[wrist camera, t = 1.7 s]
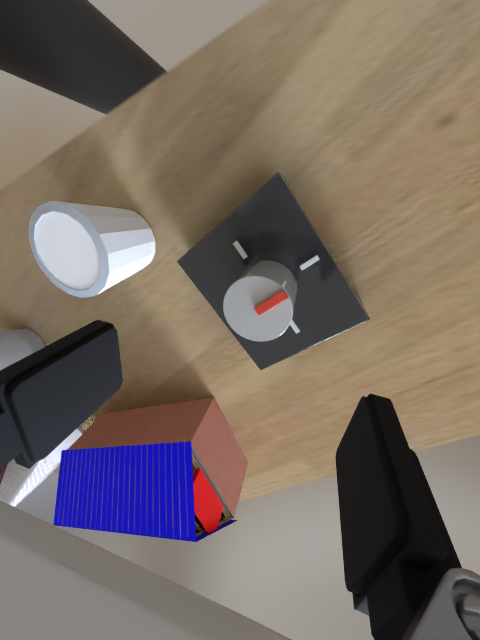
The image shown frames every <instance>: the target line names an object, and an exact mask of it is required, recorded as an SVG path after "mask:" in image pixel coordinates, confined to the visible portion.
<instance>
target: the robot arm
mask: <svg viewBox="0 0 480 640" xmlns="http://www.w3.org/2000/svg"><path fill="white" fill-rule="evenodd" d="M122 382H123V379H122V370H121V361H120V352H119V343H118V334H117V330H116V329H115V327H114V325H113V324H111V323H108V322H105V321H101V320H96V321H94V322H92V323H90V324H88V325H86V326H84V327H82V328H80V329H78V330H76V331H74V332H73V333H71V334H69V335H67V336H65V337H63V338H61V339H59V340H57V341H55V342H53V343H52V344H50V345H48V346H46V347H44V348H42V349H40V350H38V351H36V352H34V353H32V354H31V355H29V356H27V357H25V358H23V359H21V360H19V361H17V362H15V363H13V364H11V365H10V366H8V367H6V368H4V369H2V370H0V485H1V482H2V479H3V476H4V473H5V471H6V468H7V464H8V463H9V462H10V461H12V460H13V459H14V460H15V462H16V464H18V465H21V466H23V467H25V468H28V469H30V468H31V467H32V466H33V465H34V464H35V463H36V462H38V461H39V460H42V459H44V458H45V457H47V456H48V455H49V454H50V453H51V452H52V451H53V450H54V449H55V448H56V447H58V446H59V445H60V444H61V443H62V442H63V441H64V440H65V439H66V438H67V437H68V436H69V435H70V434H71V433H73V432H74V431H75V430H76V429H77V428H78V427H79V426H80V425H81V424H82V423H83V422H84V421H85V420H86V419H88V418H89V417H90V416H91V415H92V414H93V413H94V412H95V411H96V410H97V409H98V408H99V407H100V406H101V405H102V404H104V403H105V402H106V401H107V400H108V399H109V398H110V397H111V396H112V395H113V394H114V393H115V392H116V391H117V390H119V388H120V387H121V385H122ZM336 469H337V482H338V495H339V508H340V521H341V534H342V546H343V560H344V573H345V583H346V588H347V589H348V591H350V592H352V593H353V602H354V609H355V610H358V611H360V612H362V613H364V614H367V615H369V618H370V626H371V633H372V636H373V637H374V640H480V575H478V574H476V573H474V572H473V571H470V570H466V569H463V568H462V567H461V564H460V562H459V559H458V557H457V554H456V552H455V550H454V547H453V544H452V542H451V539H450V537H449V534H448V532H447V530H446V527H445V524H444V522H443V520H442V517H441V514H440V512H439V509H438V508H437V504H436V502H435V500H434V497H433V495H432V492H431V490H430V487H429V485H428V482H427V480H426V477H425V475H424V472H423V470H422V467H421V465H420V462H419V460H418V457H417V456H416V454H415V452H414V451H413V450H412V449H410V448H409V446H408V443H407V441H406V438H405V435H404V433H403V430H402V428H401V425H400V422H399V420H398V417H397V414H396V412H395V409H394V407H393V404H392V402H391V400H390V399H388V398H385V397H381V396H377V395H373V394H369V395H368V397H364V396H363V397H362V398H361V399H360V401H359V403H358V406H357V408H356V410H355V412H354V414H353V416H352V419H351V421H350V423H349V425H348V427H347V429H346V431H345V434H344V436H343V438H342V440H341V442H340V444H339V447H338V449H337V452H336ZM0 640H291V639H289V638H287V637H285V636H283V635H281V634H280V633H277V632H275V631H274V630H271V629H269V628H268V627H266V626H264V625H262V624H260V623H258V622H256V621H254V620H252V619H250V618H247V617H245V616H243V615H241V614H239V613H237V612H235V611H233V610H231V609H229V608H227V607H224V606H222V605H220V604H218V603H216V602H214V601H212V600H210V599H208V598H206V597H204V596H201V595H199V594H197V593H195V592H193V591H191V590H189V589H187V588H185V587H183V586H181V585H178V584H177V583H174V582H172V581H170V580H168V579H166V578H164V577H162V576H160V575H158V574H156V573H153V572H151V571H149V570H147V569H145V568H143V567H141V566H139V565H137V564H135V563H132V562H130V561H128V560H126V559H124V558H122V557H120V556H118V555H116V554H113V553H111V552H109V551H107V550H105V549H103V548H101V547H99V546H97V545H94V544H92V543H90V542H88V541H86V540H84V539H82V538H80V537H77V536H75V535H73V534H71V533H69V532H67V531H65V530H63V529H60V528H58V527H56V526H54V525H52V524H50V523H48V522H46V521H44V520H41V519H39V518H37V517H35V516H33V515H31V514H29V513H26V512H24V511H22V510H20V509H18V508H16V507H14V506H11V505H9V504H7V503H5V502H3V501H1V500H0Z"/></svg>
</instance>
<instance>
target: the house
mask: <svg viewBox="0 0 480 640" xmlns="http://www.w3.org/2000/svg"><path fill="white" fill-rule="evenodd" d="M192 457H193V458H192ZM193 459H194V460H193ZM194 461H195V462H196V463H195V462H194ZM247 464H248V463H247V461H246V459H245V457H244V455H243V453H242V451H241V449H240V447H239V445H238V443H237V441H236V439H235V437H234V435H233V433H232V431H231V429H230V427H229V425H228V423H227V422H226V420H225V418H224V416H223V414H222V412H221V410H220V408H219V406H218V404H217V402H216V400H215V398H214V397H211V398H204V399H197V400H190V401H183V402H176V403H169V404H163V405H156V406H149V407H142V408H135V409H128V410H121V411H114V412H108V413H103V414H102V415H101V416H100V417H99V418H98V419H97V420H96V421H95V422H94V423H93V424H92V425H91V426H90V427H89V428H88V429H87V430H86V431H85V432H84V433H83V434H82V435H81V436H80V437H79V438H78V439H77V440H76V441H75V442H74V443H73V444H72V445H71V446H70V447H69V448H67V449H66V450H62V452H61V461H60V470H59V480H58V489H57V499H56V507H55V516H54V525H57V526H65V527H74V528H83V529H91V530H100V531H108V532H116V533H125V534H133V535H142V536H150V537H159V538H167V539H176V540H185V541H193V542H197V541H199V540H201V539H203V538H204V537H206V536H208V535H210V534H212V533H214V532H216V531H218V530H220V529H222V528H223V527H226V526H228V525H230V524H231V523H233V522H235V521H237V520H231V519H232V518H234V515H235V511H236V508H237V504H238V500H239V496H240V492H241V488H242V484H243V480H244V476H245V472H246V468H247ZM225 518H226V519H225Z"/></svg>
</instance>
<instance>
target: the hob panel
mask: <svg viewBox="0 0 480 640" xmlns="http://www.w3.org/2000/svg"><path fill="white" fill-rule="evenodd" d="M261 261H275V262H278V263H281V264H282V265H284V266H285V267H287V268H288V269H289V270H290V271H291V273H292V274H293V276H294V277H295V280H296V284H297V294H296V300H295V305H294V310H293V316H292V320H291V323H290V325H289V327H288V328H287V330H286V331H285V332H284V333H283V334H281V335H280V336H279V337H277V338H275V339H272V340H269V341H252V340H249V339H246V338H244V337H242V336H240V335H239V334H237V333H236V332H235V331H234V330H233V329H232V328H231V327H230V325H229V324H228V322H227V320H226V318H225V315H224V311H223V301H224V297H225V294H226V292H227V290H228V289H229V287H230V286H231V285H232V284H233V283H234V282H235V281H236V280H237V279H238V278H239V277H240V276H241V275H242V274H243V273H244V272H245V271H246V270H247V269H248V268H249V267H250V266H252V265H253V264H255V263H257V262H261ZM177 262H178V263H179V265H180V266H181V267H182V269H183V270H184V271H185V272H186V274H187V275H188V276H189V278H190V279H191V280H192V281H193V283H194V284H195V285H196V287H197V288H198V289H199V291H200V292H201V293H202V294H203V296H204V297H205V298H206V300H207V301H208V302H209V304H210V305H211V306H212V307H213V309H214V310H215V311H216V313H217V314H218V315H219V317H220V318H221V319H222V320H223V322H224V323H225V324H226V326H227V327H228V328H229V330H230V331H231V332H232V333H233V335H234V336H235V337H236V339H237V340H238V341H239V342H240V344H241V345H242V346H243V348H244V349H245V350H246V352H247V353H248V354H249V355H250V357H251V358H252V359H253V361H254V362H255V363H256V365H257V366H258V367H259V368H260V370H262V369H264V368H266V367H269V366H271V365H273V364H275V363H277V362H279V361H281V360H284V359H286V358H288V357H290V356H292V355H294V354H297V353H299V352H301V351H303V350H305V349H307V348H309V347H312V346H314V345H316V344H318V343H320V342H322V341H324V340H327V339H329V338H331V337H333V336H335V335H337V334H340V333H342V332H344V331H346V330H348V329H350V328H352V327H355V326H357V325H359V324H361V323H363V322H365V321H367V320H369V319H370V318H369V316H368V314H367V312H366V310H365V308H364V306H363V304H362V302H361V301H360V299H359V297H358V296H357V294H356V293H355V291H354V289H353V288H352V286H351V284H350V283H349V281H348V280H347V278H346V276H345V275H344V273H343V272H342V270H341V268H340V267H339V265H338V263H337V262H336V260H335V259H334V257H333V255H332V254H331V252H330V251H329V249H328V247H327V246H326V244H325V242H324V241H323V239H322V238H321V236H320V234H319V233H318V231H317V230H316V228H315V226H314V225H313V223H312V221H311V220H310V218H309V217H308V215H307V213H306V212H305V210H304V209H303V207H302V205H301V204H300V202H299V200H298V199H297V197H296V196H295V194H294V192H293V191H292V189H291V187H290V186H289V184H288V183H287V181H286V179H285V178H284V177H283V176H282V175H281V174H280V173H277V174H276V175H275V176H274V177H273V178H271V179H270V180H269V181H268V182H267V183H266V184H265V185H263V186H262V187H261V188H260V189H259V190H258V191H257V192H255V193H254V194H253V195H252V196H251V197H250V198H249V199H247V200H246V201H245V202H244V203H243V204H242V205H241V206H239V207H238V208H237V209H236V210H235V211H234V212H233V213H231V214H230V215H229V216H228V217H227V218H226V219H225V220H223V221H222V222H221V223H220V224H219V225H218V226H217V227H215V228H214V229H213V230H212V231H211V232H210V233H209V234H207V235H206V236H205V237H204V238H203V239H202V240H201V241H199V242H198V243H197V244H196V245H195V246H194V247H193V248H191V249H190V250H189V251H188V252H187V253H186V254H185V255H183V256H182V257H181V258H180V259H179V260H178V261H177Z"/></svg>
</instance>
